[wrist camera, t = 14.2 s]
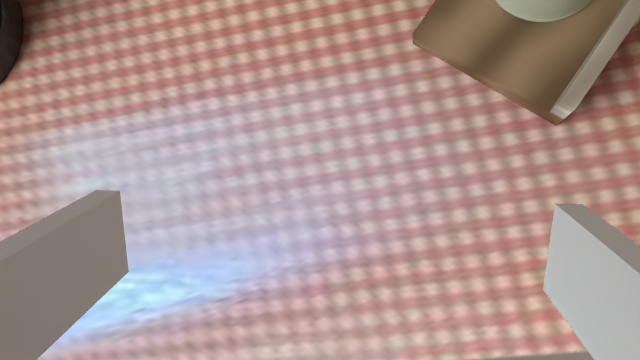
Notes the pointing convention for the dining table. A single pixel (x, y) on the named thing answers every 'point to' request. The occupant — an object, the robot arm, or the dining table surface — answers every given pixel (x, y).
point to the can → (543, 9)
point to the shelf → (528, 49)
